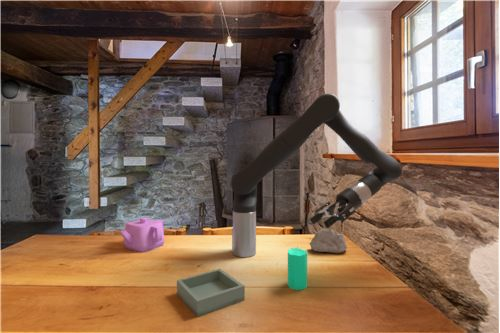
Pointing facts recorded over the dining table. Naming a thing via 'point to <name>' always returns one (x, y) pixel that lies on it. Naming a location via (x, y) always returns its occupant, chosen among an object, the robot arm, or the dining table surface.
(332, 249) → the pumice stone
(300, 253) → the candle
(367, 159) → the robot arm
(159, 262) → the dining table surface
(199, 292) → the tray
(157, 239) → the teakettle
